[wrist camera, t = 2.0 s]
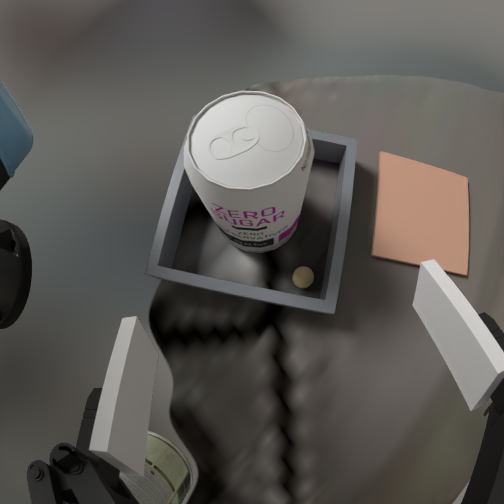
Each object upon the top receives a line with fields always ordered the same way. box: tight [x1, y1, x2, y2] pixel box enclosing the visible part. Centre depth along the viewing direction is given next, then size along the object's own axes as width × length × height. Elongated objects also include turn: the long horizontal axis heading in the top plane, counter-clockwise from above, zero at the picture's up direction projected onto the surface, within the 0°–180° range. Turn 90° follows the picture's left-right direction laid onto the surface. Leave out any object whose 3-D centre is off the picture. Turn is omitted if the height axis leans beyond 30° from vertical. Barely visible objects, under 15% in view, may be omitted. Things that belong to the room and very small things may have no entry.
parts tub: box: [145, 115, 357, 314], centre depth 30 cm, size 17×17×4 cm
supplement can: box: [184, 91, 314, 253], centre depth 25 cm, size 8×8×15 cm
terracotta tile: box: [371, 151, 469, 276], centre depth 30 cm, size 12×12×1 cm
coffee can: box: [119, 431, 193, 504], centre depth 20 cm, size 10×10×14 cm
